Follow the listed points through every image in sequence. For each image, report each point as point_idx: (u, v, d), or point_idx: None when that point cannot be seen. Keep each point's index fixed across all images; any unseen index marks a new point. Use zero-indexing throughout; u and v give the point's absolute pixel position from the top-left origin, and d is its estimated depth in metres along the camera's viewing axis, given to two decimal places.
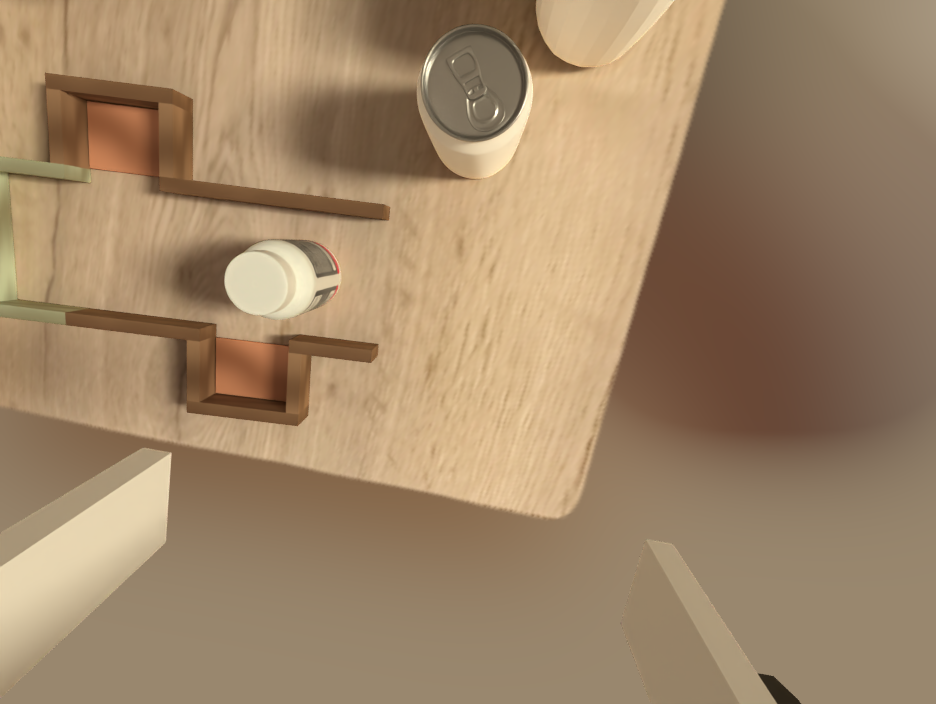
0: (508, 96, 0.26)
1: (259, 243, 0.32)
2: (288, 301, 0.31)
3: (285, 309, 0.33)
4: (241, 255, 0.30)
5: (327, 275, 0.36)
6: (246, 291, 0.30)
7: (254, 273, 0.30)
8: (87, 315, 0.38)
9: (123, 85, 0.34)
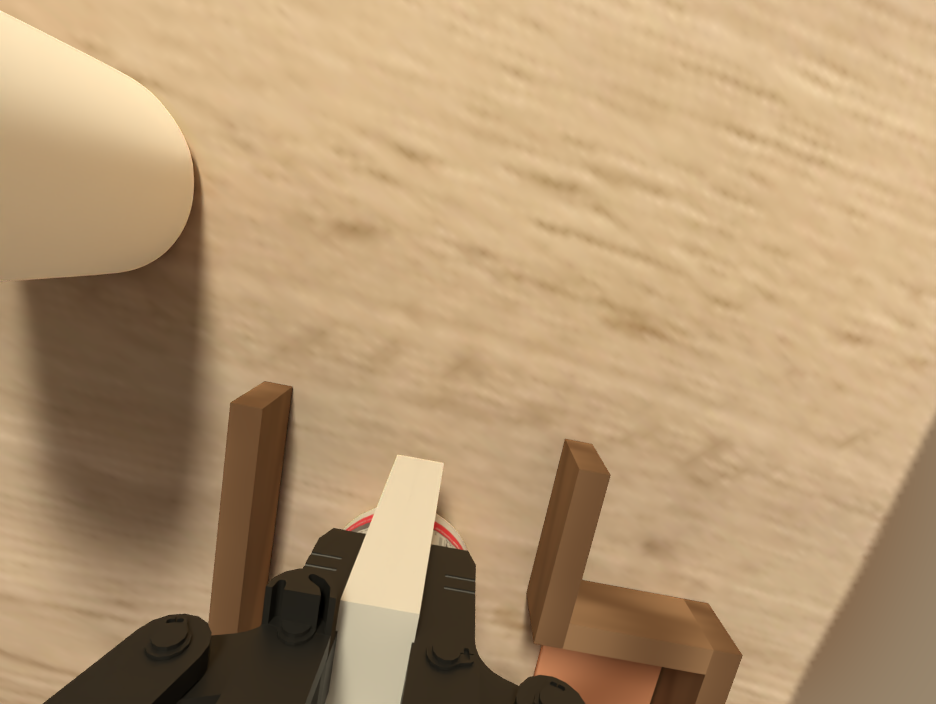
0: None
1: None
2: None
3: None
4: None
5: None
6: None
7: None
8: None
9: None
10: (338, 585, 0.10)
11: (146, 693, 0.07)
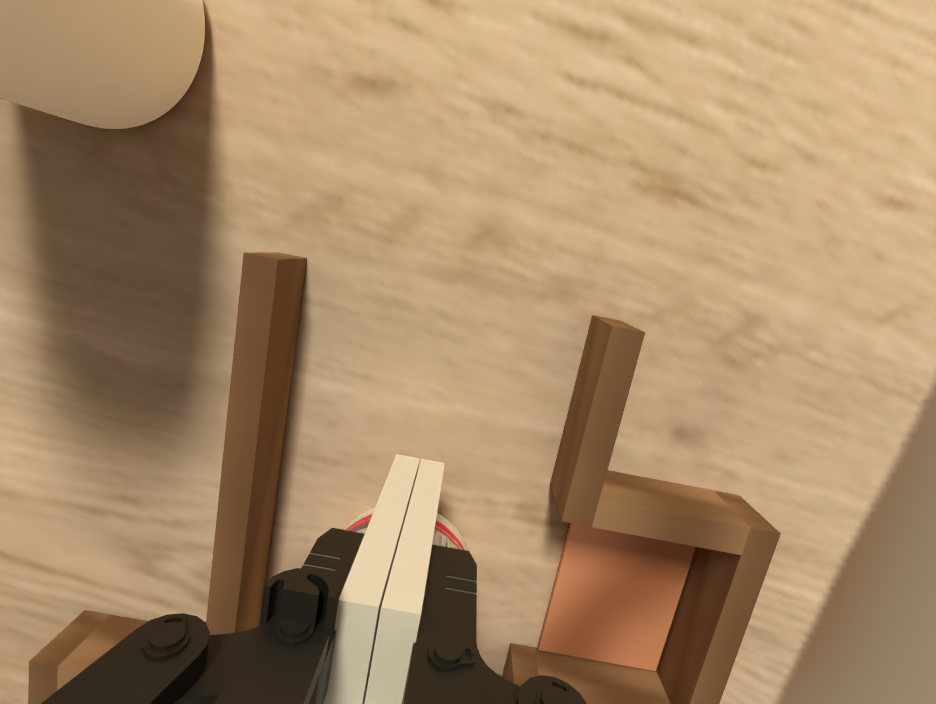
0: None
1: None
2: None
3: None
4: None
5: None
6: None
7: None
8: None
9: None
10: (337, 585, 0.10)
11: (144, 693, 0.07)
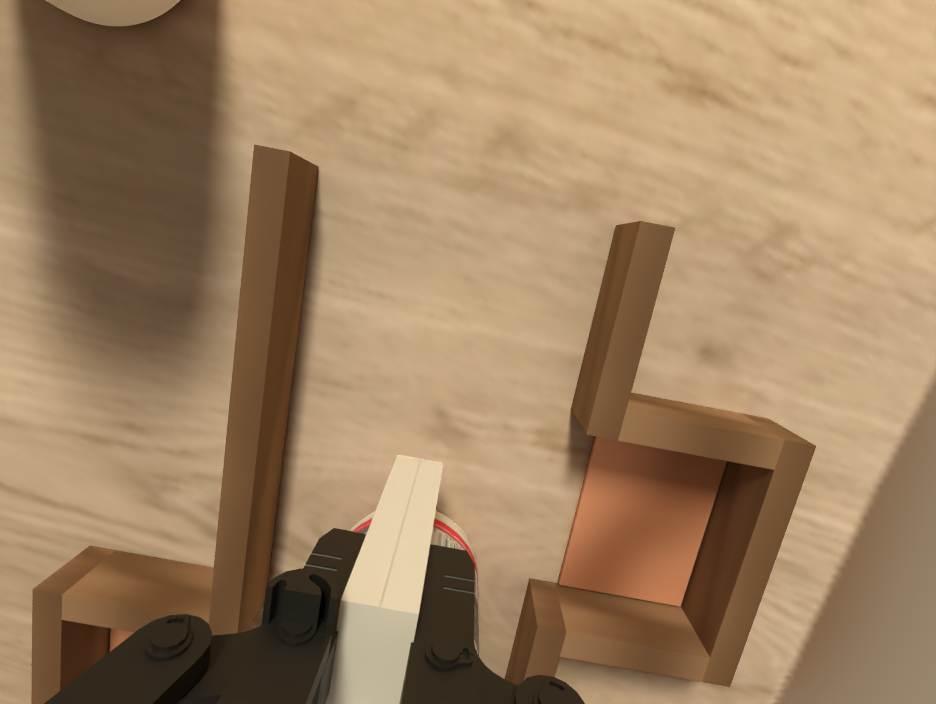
0: None
1: None
2: None
3: None
4: None
5: None
6: None
7: None
8: None
9: (36, 675, 0.17)
10: (338, 585, 0.10)
11: (147, 693, 0.07)
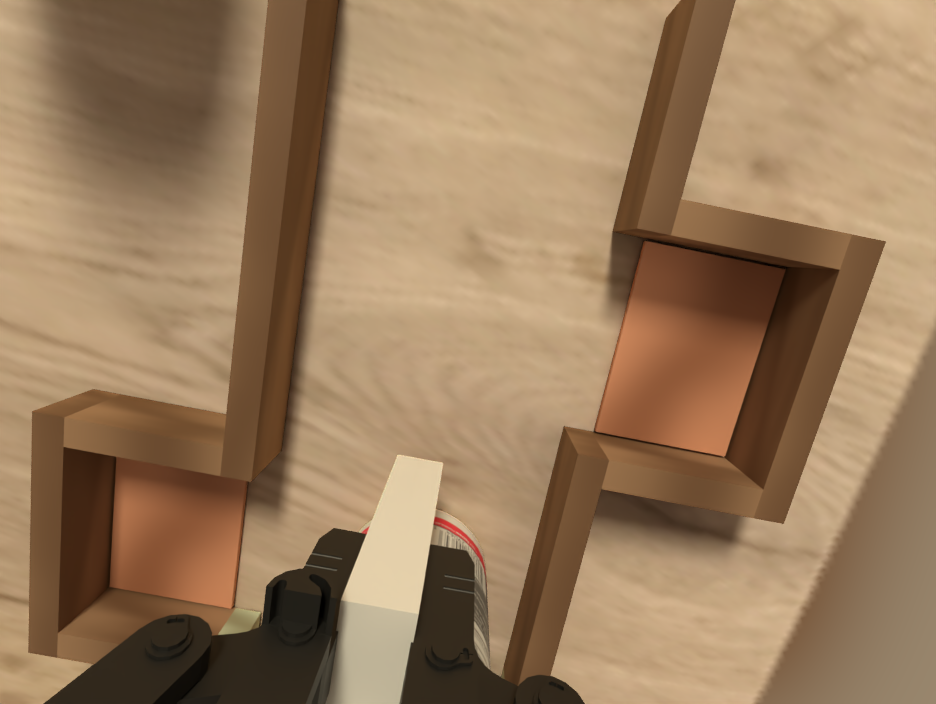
0: None
1: None
2: None
3: None
4: None
5: None
6: None
7: None
8: (518, 684, 0.17)
9: (35, 511, 0.16)
10: (339, 585, 0.10)
11: (147, 693, 0.07)
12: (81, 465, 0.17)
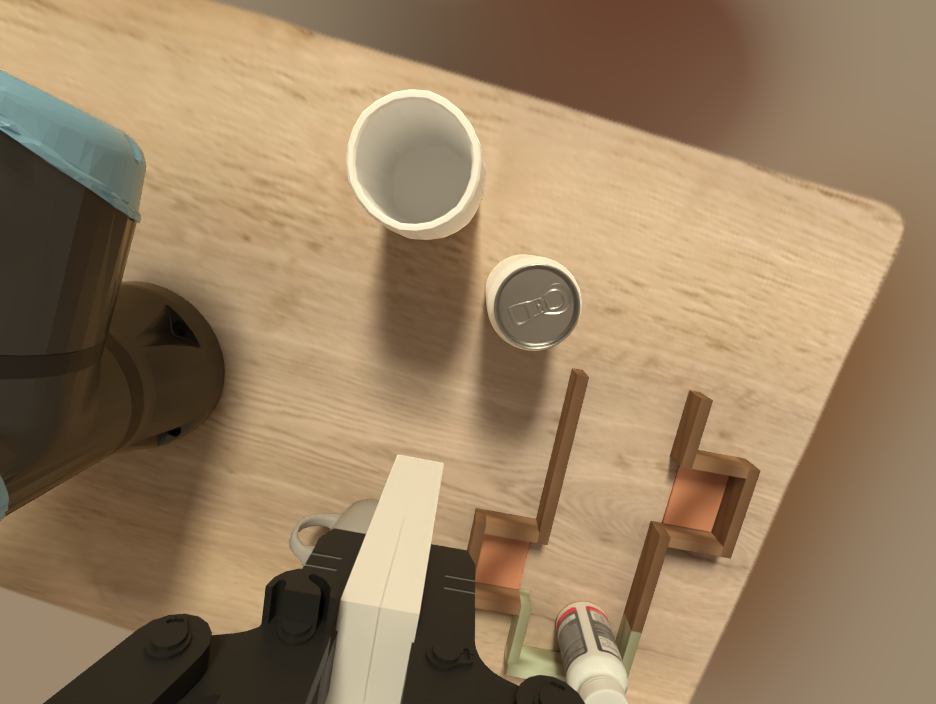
0: (546, 280, 0.32)
1: None
2: (612, 682, 0.41)
3: (618, 675, 0.43)
4: None
5: (582, 631, 0.46)
6: None
7: None
8: (636, 615, 0.47)
9: (470, 555, 0.46)
10: (338, 585, 0.10)
11: (146, 693, 0.07)
12: None
